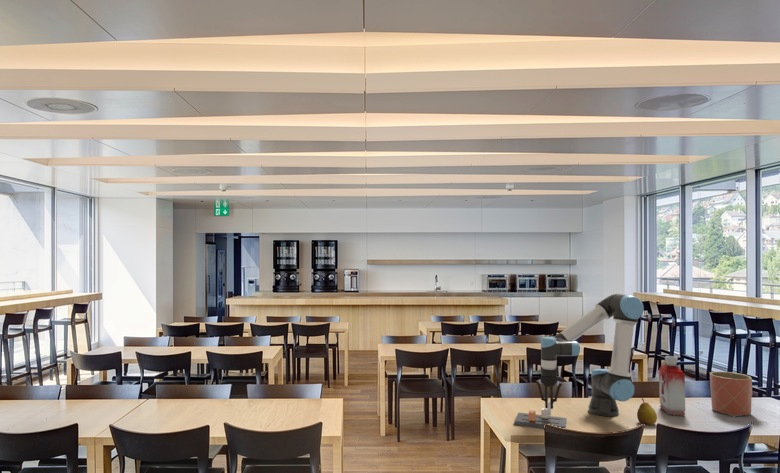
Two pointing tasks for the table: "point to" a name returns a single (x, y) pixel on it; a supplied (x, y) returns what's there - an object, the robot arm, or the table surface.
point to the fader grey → (544, 413)
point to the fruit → (646, 414)
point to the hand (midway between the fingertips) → (549, 414)
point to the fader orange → (532, 415)
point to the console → (539, 421)
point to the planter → (731, 393)
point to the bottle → (672, 387)
